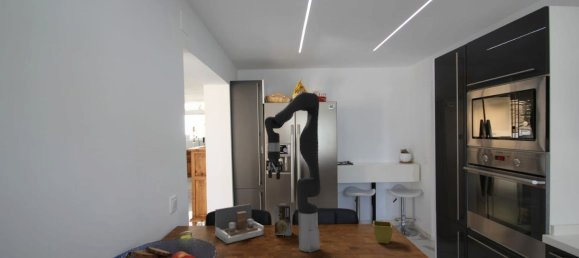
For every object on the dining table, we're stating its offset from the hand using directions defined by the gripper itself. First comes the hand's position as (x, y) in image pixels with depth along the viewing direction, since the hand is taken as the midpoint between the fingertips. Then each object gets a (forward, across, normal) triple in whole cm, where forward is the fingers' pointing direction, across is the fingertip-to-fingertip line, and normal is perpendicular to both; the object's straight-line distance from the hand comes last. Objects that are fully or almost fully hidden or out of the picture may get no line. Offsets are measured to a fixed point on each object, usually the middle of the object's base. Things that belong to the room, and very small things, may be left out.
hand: (274, 178), depth 149 cm
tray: (+28, +6, +18) cm, 33 cm away
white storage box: (+30, +8, +18) cm, 36 cm away
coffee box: (+30, -6, -2) cm, 31 cm away
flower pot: (+30, -47, -35) cm, 66 cm away
